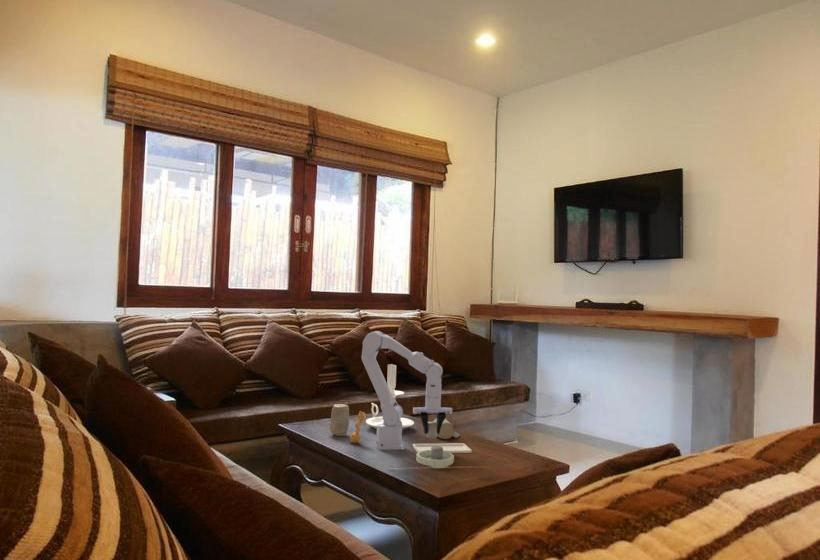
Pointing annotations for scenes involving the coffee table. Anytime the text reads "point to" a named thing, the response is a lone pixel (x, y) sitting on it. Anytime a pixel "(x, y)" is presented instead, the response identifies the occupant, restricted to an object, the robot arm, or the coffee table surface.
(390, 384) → the candlestick
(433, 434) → the pebble
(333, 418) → the carving
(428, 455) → the celadon bowl
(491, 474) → the coffee table surface
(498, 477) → the coffee table surface
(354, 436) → the figurine
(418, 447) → the parts tray
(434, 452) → the pebble
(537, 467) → the coffee table surface
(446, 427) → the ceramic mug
